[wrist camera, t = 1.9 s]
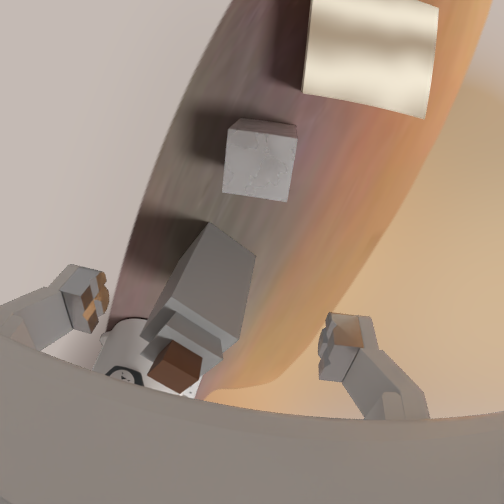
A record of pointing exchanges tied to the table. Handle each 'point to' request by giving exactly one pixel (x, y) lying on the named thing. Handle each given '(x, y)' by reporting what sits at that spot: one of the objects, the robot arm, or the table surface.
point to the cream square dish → (372, 52)
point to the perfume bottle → (198, 310)
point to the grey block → (259, 159)
